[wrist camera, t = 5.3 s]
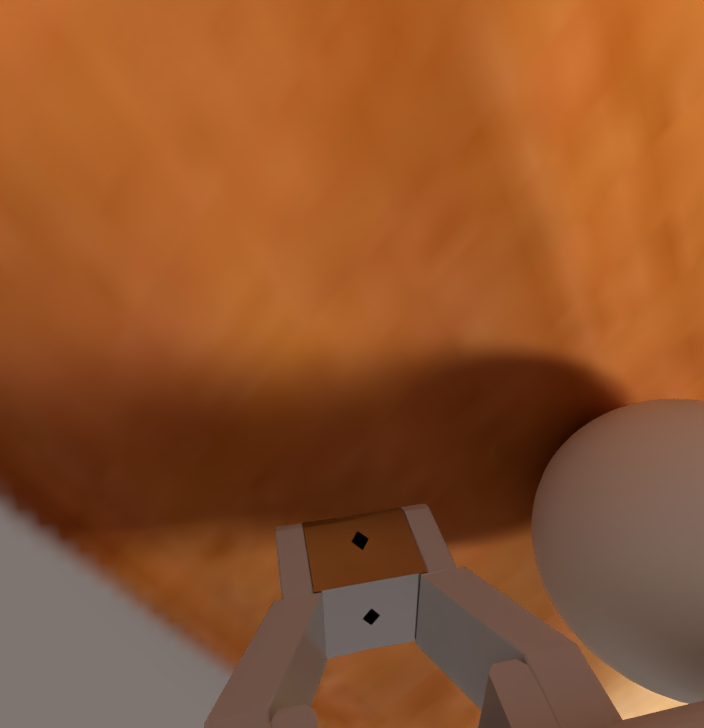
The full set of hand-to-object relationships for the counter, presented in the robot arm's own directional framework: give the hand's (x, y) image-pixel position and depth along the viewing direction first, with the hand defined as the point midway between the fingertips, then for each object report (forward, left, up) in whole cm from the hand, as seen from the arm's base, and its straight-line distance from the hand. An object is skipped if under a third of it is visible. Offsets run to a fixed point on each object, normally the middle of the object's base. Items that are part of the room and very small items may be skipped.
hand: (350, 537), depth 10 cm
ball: (0, +6, +1) cm, 7 cm away
